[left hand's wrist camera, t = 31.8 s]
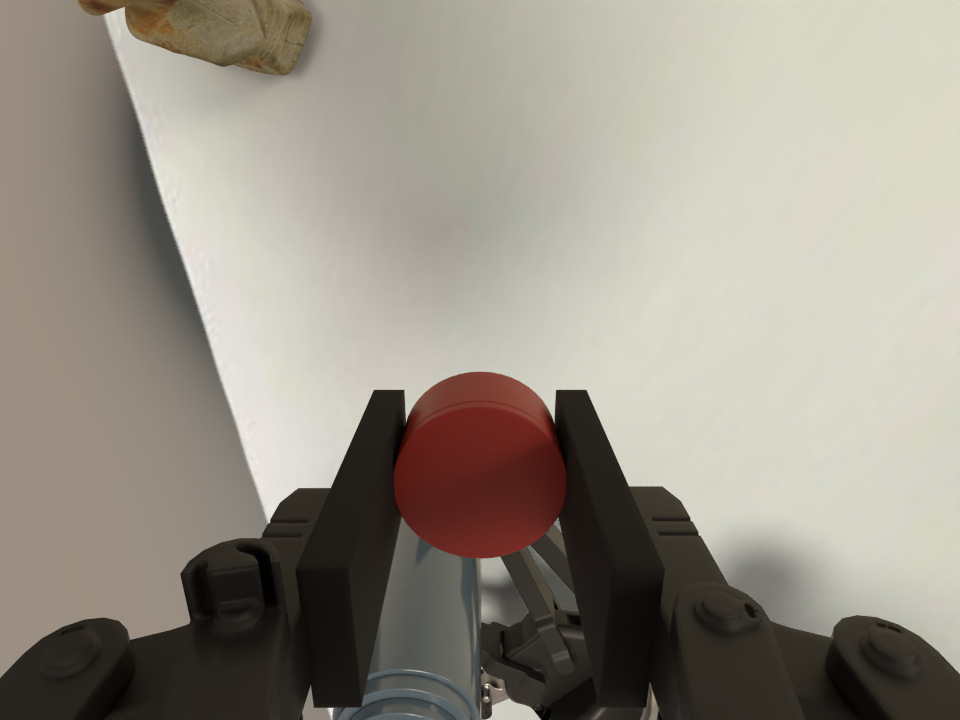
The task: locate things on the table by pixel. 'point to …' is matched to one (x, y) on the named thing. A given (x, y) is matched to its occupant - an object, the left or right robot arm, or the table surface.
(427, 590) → the bottle
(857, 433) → the table surface
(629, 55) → the table surface
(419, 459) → the cap
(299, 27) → the sculpture
